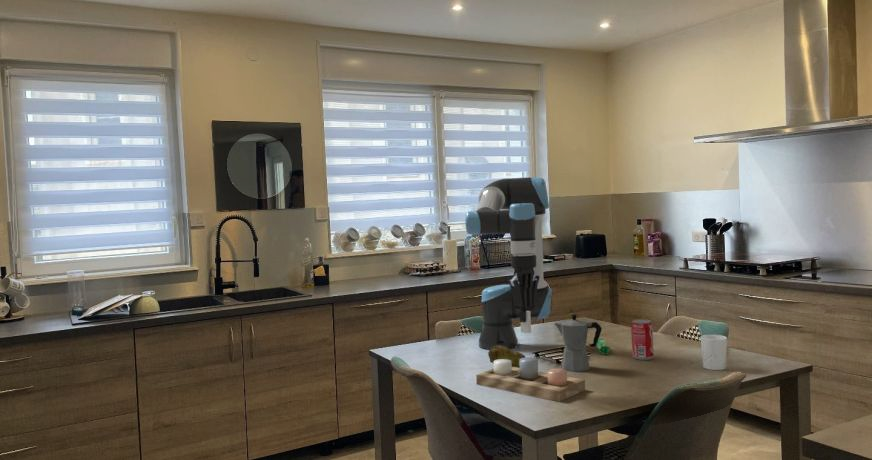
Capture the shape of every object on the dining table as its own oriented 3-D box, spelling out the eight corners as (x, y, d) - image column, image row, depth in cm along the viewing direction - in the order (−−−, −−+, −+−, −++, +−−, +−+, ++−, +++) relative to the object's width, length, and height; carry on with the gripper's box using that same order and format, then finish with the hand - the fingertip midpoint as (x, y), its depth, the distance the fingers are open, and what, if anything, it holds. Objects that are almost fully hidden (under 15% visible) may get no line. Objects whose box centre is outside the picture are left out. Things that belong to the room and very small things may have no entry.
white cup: (715, 372, 210) (715, 340, 209) (695, 366, 217) (695, 336, 216) (732, 368, 213) (732, 337, 213) (712, 363, 220) (712, 333, 220)
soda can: (654, 360, 226) (654, 322, 226) (632, 360, 228) (632, 322, 227) (652, 355, 233) (651, 318, 233) (631, 355, 235) (630, 318, 234)
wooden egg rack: (476, 384, 207) (476, 374, 206) (503, 374, 217) (503, 365, 217) (559, 401, 186) (559, 391, 186) (585, 389, 196) (584, 379, 196)
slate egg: (516, 376, 201) (515, 360, 201) (526, 372, 205) (526, 356, 205) (531, 379, 197) (530, 362, 197) (542, 375, 201) (541, 358, 201)
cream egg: (490, 377, 208) (489, 362, 208) (501, 373, 212) (500, 358, 212) (504, 380, 204) (504, 364, 204) (515, 376, 208) (514, 360, 208)
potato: (528, 371, 219) (527, 347, 219) (489, 372, 219) (488, 348, 219) (525, 364, 227) (524, 341, 227) (487, 366, 228) (487, 343, 227)
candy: (593, 345, 249) (599, 336, 249) (601, 350, 249) (607, 341, 249) (597, 353, 237) (603, 343, 237) (605, 358, 237) (612, 348, 237)
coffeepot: (552, 370, 219) (551, 316, 218) (558, 363, 228) (557, 311, 227) (600, 373, 213) (599, 317, 212) (604, 366, 222) (603, 312, 221)
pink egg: (544, 388, 194) (543, 371, 194) (554, 384, 199) (554, 367, 198) (560, 391, 191) (560, 374, 190) (570, 387, 195) (570, 370, 194)
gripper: (520, 256, 192) (523, 337, 193) (546, 253, 202) (548, 330, 203) (500, 256, 197) (502, 334, 199) (526, 252, 207) (528, 327, 208)
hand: (525, 332), depth 201 cm, fingers closed
